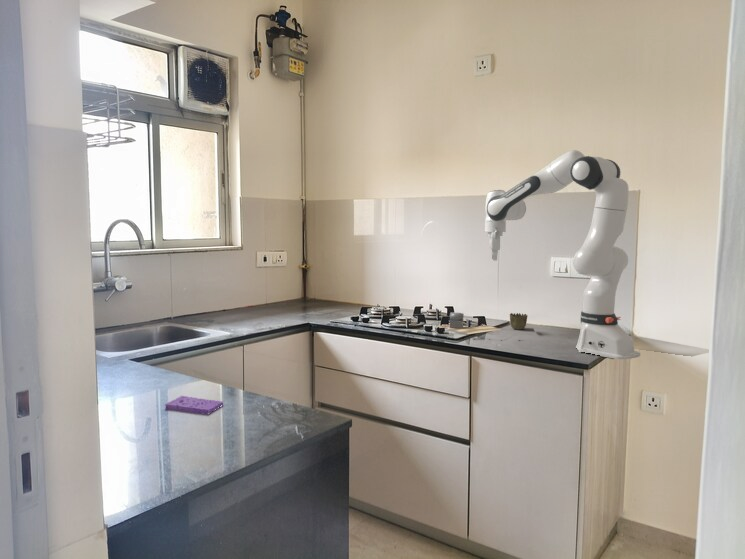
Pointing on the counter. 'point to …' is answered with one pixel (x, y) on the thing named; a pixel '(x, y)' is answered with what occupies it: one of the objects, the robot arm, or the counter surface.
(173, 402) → the sponges
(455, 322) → the grey cube
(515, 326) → the cup
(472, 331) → the board
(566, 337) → the counter surface
